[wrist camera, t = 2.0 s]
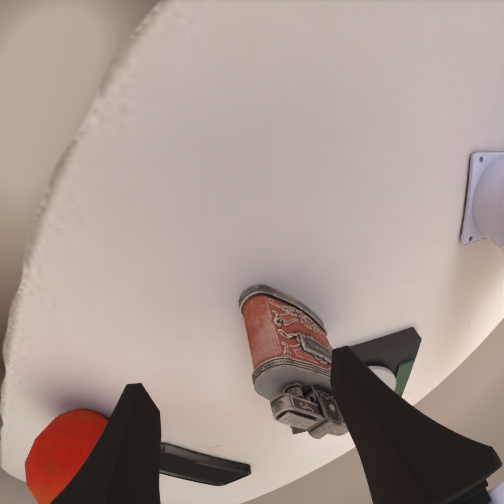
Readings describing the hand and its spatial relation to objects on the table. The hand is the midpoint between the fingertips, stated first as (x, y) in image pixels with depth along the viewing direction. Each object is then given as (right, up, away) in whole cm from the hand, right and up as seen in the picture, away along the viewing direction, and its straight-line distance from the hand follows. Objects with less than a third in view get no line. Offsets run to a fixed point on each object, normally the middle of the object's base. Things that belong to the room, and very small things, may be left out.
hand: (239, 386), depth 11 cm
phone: (-7, -24, +24) cm, 35 cm away
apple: (-17, -13, +17) cm, 27 cm away
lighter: (+3, 0, +13) cm, 13 cm away
